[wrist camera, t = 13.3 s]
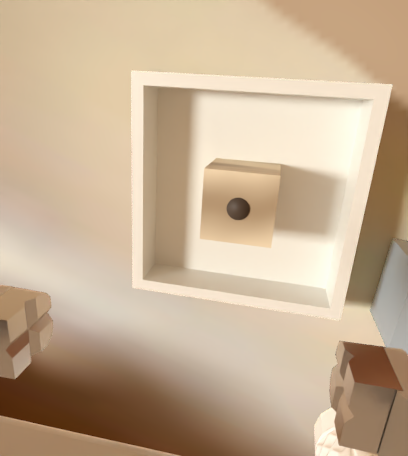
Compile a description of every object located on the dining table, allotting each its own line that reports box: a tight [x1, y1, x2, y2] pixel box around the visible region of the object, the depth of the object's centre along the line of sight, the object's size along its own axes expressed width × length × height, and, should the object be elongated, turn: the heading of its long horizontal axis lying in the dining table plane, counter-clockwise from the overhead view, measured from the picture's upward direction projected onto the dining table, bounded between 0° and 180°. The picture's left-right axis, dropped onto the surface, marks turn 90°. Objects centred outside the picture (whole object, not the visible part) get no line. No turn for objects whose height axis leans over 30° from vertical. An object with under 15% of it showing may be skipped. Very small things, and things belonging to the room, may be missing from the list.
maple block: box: [200, 158, 281, 248], centre depth 24 cm, size 4×4×4 cm
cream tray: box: [131, 71, 393, 321], centre depth 25 cm, size 15×15×4 cm
